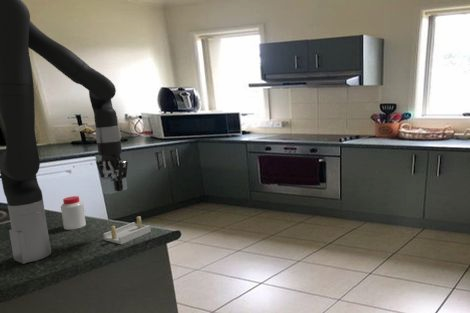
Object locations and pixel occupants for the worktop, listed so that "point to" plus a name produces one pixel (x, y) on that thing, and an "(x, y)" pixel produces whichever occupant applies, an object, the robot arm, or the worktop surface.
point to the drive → (111, 185)
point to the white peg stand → (126, 232)
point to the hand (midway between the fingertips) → (115, 190)
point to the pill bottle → (73, 213)
